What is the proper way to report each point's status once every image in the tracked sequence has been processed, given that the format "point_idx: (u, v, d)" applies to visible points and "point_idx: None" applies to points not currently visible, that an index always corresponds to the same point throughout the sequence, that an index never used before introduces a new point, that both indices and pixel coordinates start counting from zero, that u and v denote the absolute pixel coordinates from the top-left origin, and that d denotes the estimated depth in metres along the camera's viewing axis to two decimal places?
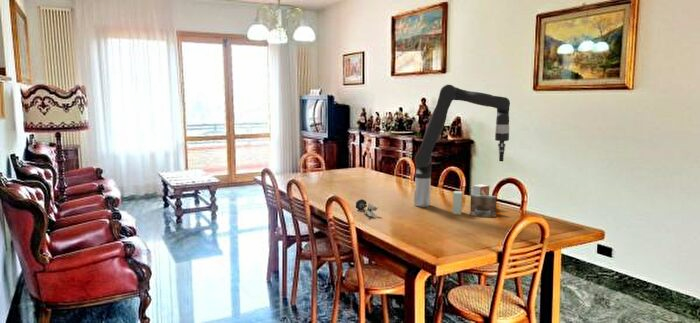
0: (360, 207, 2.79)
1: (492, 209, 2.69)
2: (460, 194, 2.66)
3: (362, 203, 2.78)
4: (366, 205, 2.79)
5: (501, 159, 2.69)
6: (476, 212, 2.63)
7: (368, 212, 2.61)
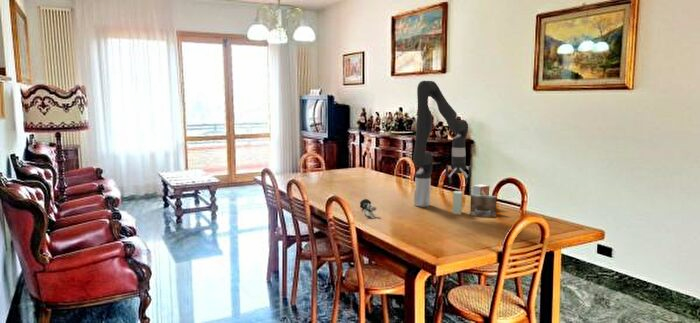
0: (364, 207, 2.79)
1: (492, 209, 2.69)
2: (460, 194, 2.66)
3: (366, 203, 2.79)
4: (370, 205, 2.79)
5: None
6: (476, 212, 2.63)
7: (366, 212, 2.61)
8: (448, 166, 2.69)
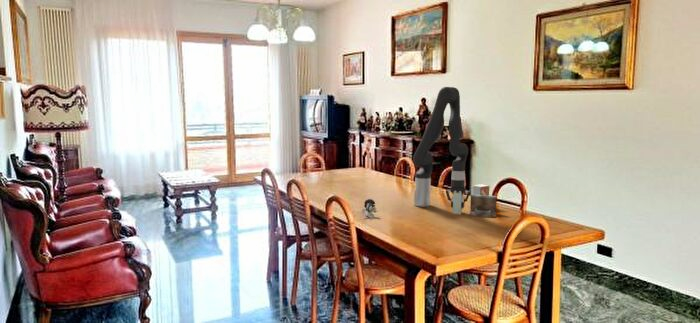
0: None
1: (492, 209, 2.69)
2: (460, 194, 2.66)
3: (370, 203, 2.78)
4: (374, 205, 2.78)
5: None
6: (476, 212, 2.63)
7: (365, 212, 2.62)
8: (448, 190, 2.71)
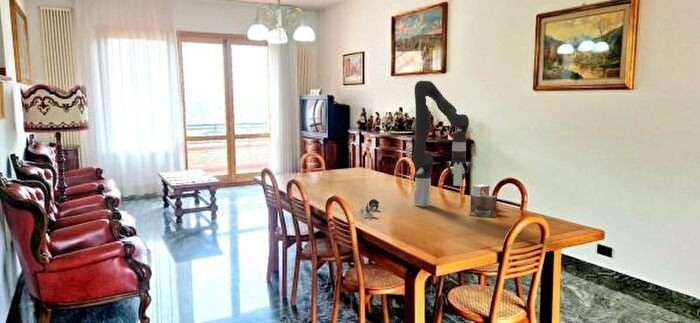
0: None
1: (492, 209, 2.69)
2: (461, 165, 2.64)
3: (374, 203, 2.78)
4: (378, 205, 2.78)
5: None
6: (476, 212, 2.63)
7: (363, 212, 2.62)
8: (448, 162, 2.69)
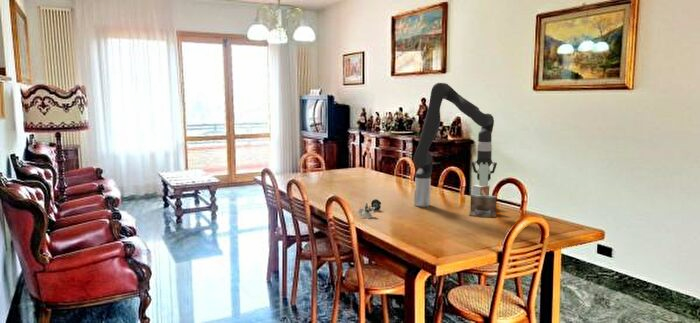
0: (374, 207, 2.79)
1: (492, 209, 2.69)
2: (487, 165, 2.60)
3: (376, 203, 2.78)
4: (380, 206, 2.77)
5: None
6: (476, 212, 2.63)
7: (362, 211, 2.62)
8: None
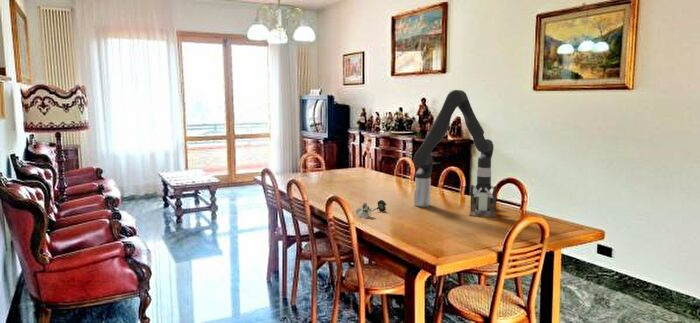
0: (380, 208, 2.77)
1: (492, 209, 2.69)
2: (486, 194, 2.62)
3: (381, 204, 2.76)
4: (384, 207, 2.74)
5: (492, 202, 2.65)
6: (476, 212, 2.63)
7: (360, 211, 2.64)
8: (473, 186, 2.66)
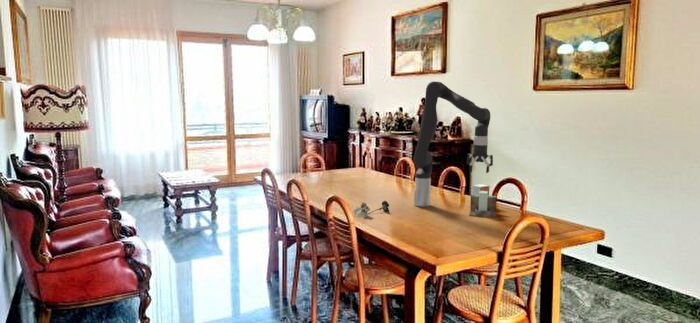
0: (384, 208, 2.75)
1: (492, 209, 2.69)
2: (486, 194, 2.62)
3: (384, 205, 2.74)
4: (387, 208, 2.72)
5: (488, 171, 2.66)
6: (476, 212, 2.63)
7: (358, 210, 2.65)
8: None
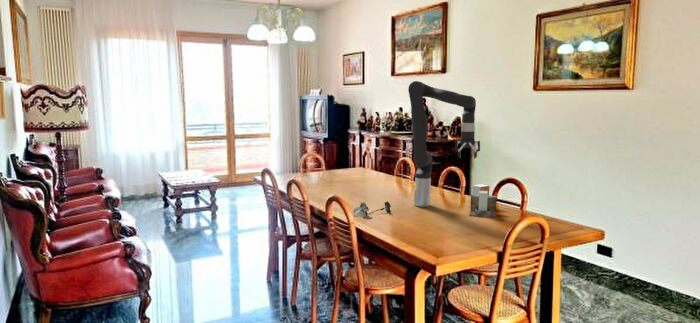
0: (386, 209, 2.73)
1: (492, 209, 2.69)
2: (486, 194, 2.62)
3: (386, 205, 2.72)
4: (389, 208, 2.70)
5: (476, 156, 2.76)
6: (476, 212, 2.63)
7: (358, 210, 2.66)
8: (458, 141, 2.77)
